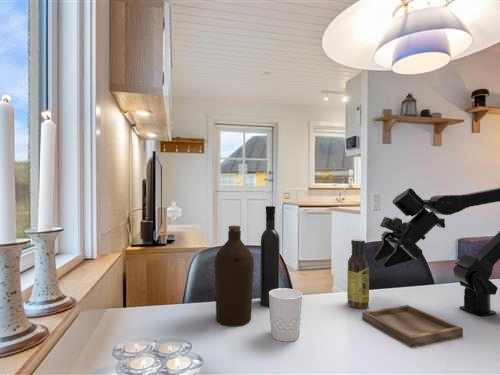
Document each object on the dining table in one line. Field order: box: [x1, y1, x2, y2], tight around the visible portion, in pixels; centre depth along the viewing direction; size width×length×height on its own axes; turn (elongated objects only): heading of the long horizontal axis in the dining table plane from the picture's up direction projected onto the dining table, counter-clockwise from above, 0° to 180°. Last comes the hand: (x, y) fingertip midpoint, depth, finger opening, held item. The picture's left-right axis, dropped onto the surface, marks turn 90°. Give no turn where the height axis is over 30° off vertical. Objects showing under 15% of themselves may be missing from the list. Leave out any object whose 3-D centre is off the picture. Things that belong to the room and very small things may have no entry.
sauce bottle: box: [346, 239, 370, 309], centre depth 93 cm, size 6×6×20 cm
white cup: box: [268, 287, 303, 343], centre depth 72 cm, size 8×8×10 cm
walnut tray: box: [361, 304, 464, 348], centre depth 77 cm, size 16×16×2 cm
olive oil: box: [213, 225, 255, 327], centre depth 82 cm, size 11×11×25 cm
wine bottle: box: [259, 205, 281, 307], centre depth 94 cm, size 6×6×30 cm
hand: (379, 262), depth 92 cm, fingers open, 9 cm apart
